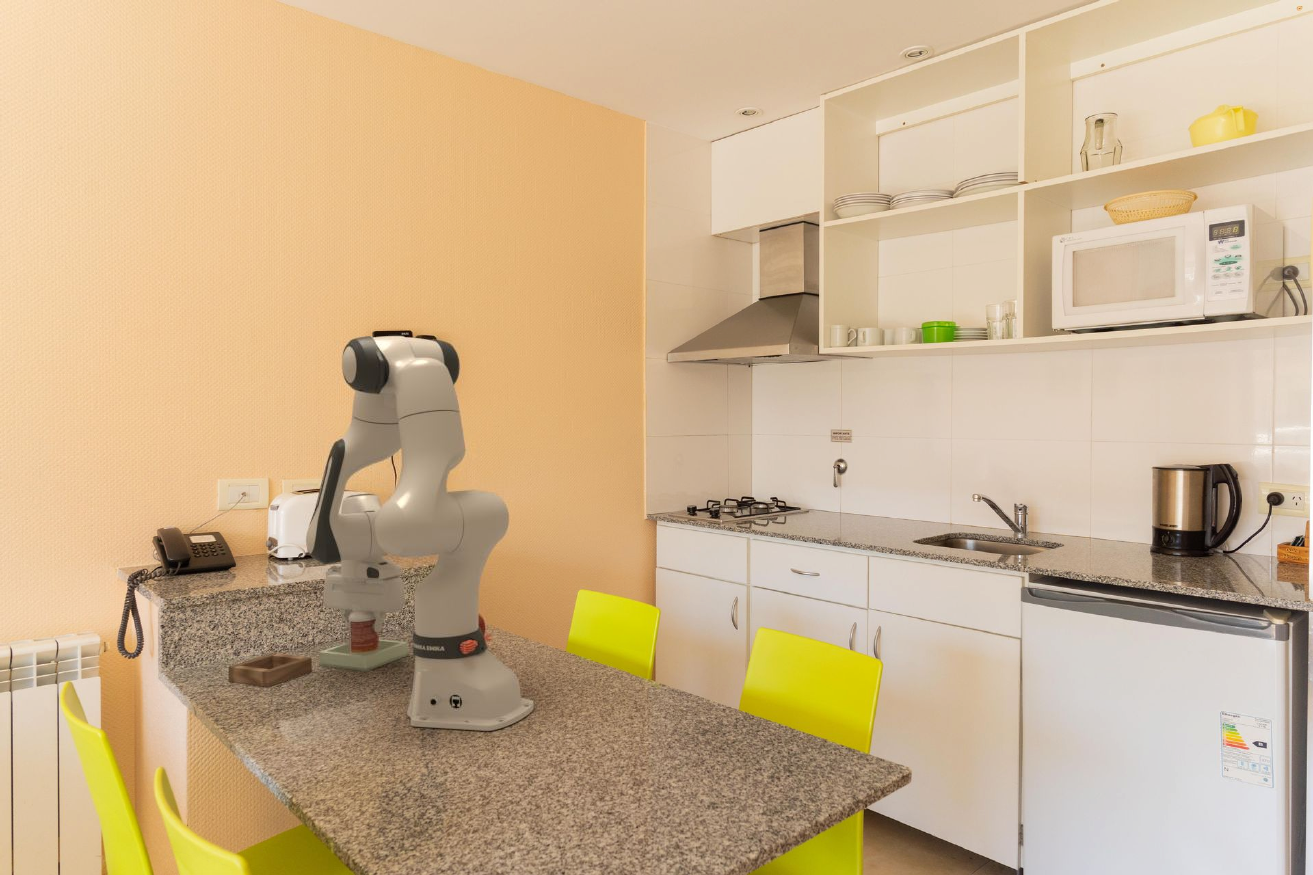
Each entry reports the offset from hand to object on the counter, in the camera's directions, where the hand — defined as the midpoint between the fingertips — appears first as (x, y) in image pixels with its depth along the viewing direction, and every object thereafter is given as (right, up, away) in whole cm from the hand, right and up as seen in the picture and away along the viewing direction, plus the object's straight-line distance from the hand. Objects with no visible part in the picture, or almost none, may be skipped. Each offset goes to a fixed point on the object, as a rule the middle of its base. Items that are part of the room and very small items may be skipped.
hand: (363, 630), depth 178 cm
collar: (-15, -7, -11) cm, 20 cm away
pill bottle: (0, -5, 0) cm, 5 cm away
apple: (+21, -7, +4) cm, 23 cm away
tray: (0, -7, 0) cm, 7 cm away
